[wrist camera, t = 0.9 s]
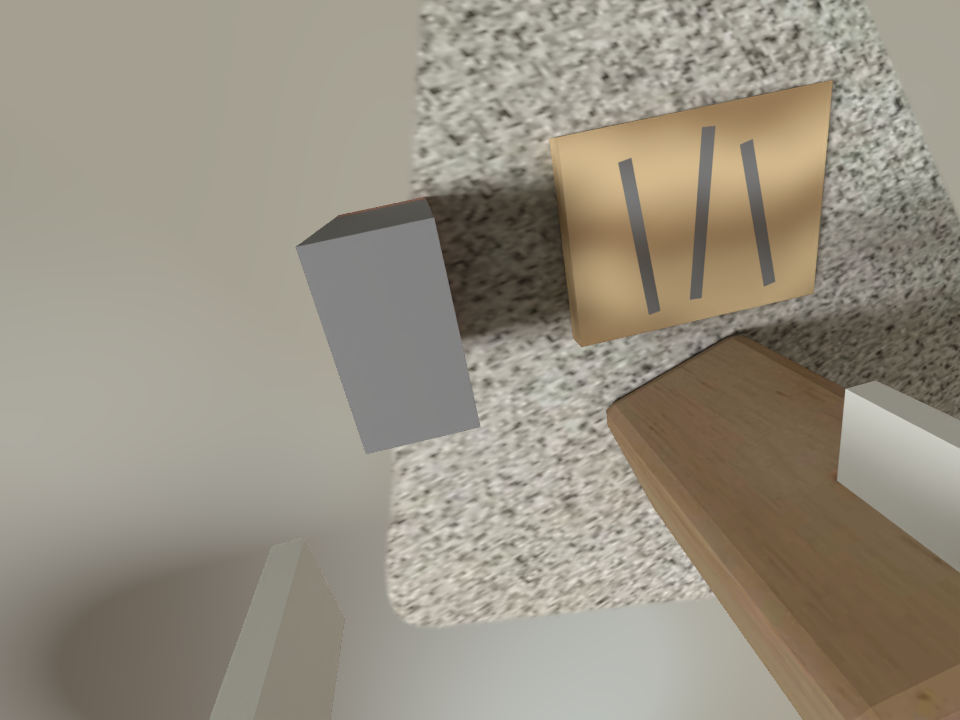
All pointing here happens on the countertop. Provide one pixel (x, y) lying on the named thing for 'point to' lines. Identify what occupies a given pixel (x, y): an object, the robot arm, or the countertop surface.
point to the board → (692, 212)
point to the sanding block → (391, 323)
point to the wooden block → (794, 535)
